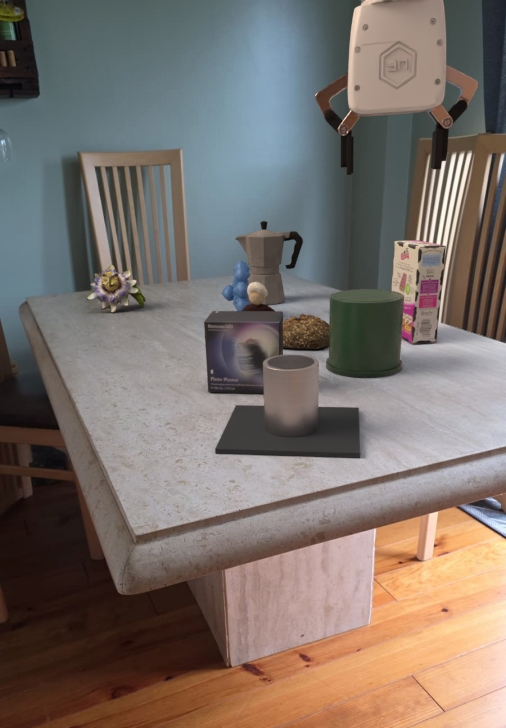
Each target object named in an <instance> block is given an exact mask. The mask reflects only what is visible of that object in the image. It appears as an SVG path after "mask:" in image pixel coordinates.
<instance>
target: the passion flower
mask: <svg viewBox="0 0 506 728" xmlns="http://www.w3.org/2000/svg"><path fill="white" fill-rule="evenodd" d="M131 274H132V271H131V270H130V269H129V270H126V271H123V272H119V271H116V268H115V266H114V265H113V264H109V265H108V267H107V268H105V269H104V270H102V272H99V273H94V277H93V276H92V275H91V276H90V279H91V281H92V283H90V287H92V292H90V293H89V294H88V295H87V296H86V300H87V301H94V300H96V299H98V300H99V302H100V309H101V310H102V311H103V310H106V309H109V310H110V313H111V312H114V313H116V311H117V309H118V306H117V305H118V304H120V305H122V306H124V307H128V306H129V304H130V301H129V295H130V296H131V297H132V298H133V299H134V300H136V302H137V303H138V305H139V306H140V307H141V308H144V307H145V303H146V301H147V299H146V297H145V296H144V295H143V294H142V291H141V288H139V286H137V280H136V279H129V278H130V276H131Z"/></svg>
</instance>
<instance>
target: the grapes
mask: <svg viewBox="0 0 506 728" xmlns="http://www.w3.org/2000/svg"><path fill="white" fill-rule="evenodd" d="M250 270H251V267H250V266H249V265H248V263H247V262H245V261H243V260H239V261H237V263H236V264H235V266H234V267H233V271H234V273H233V275H232V276H233V277H234V278H233V280H232V281H231V284H228V285H226V286H225V287H224V288H223V290H222V291H221V295H222V296H223V298H224V299H225V300H226V301H228V302H232V301H233V302H232V304H233V306H234V308H235V309H236V311H242V310H243V308H244V307H245V306H246V305H248V304H250V303H251V302H250V300H249V296H248V293H247V289H248V286H249V283H248V282H249V276H250V274H251V272H250Z"/></svg>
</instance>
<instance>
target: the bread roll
mask: <svg viewBox="0 0 506 728" xmlns="http://www.w3.org/2000/svg"><path fill="white" fill-rule="evenodd" d="M326 347H329V323H328V322H327V321H326V320H324V319H322V318H320V317H318V316H315V315H311V314H305V313H300V314H299V316H298V317H297V316H295V315H293V316H292V317H289V318H286V319H284V320H283V349H297V350H318V349H319V350H320V349H324V348H326Z"/></svg>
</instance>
